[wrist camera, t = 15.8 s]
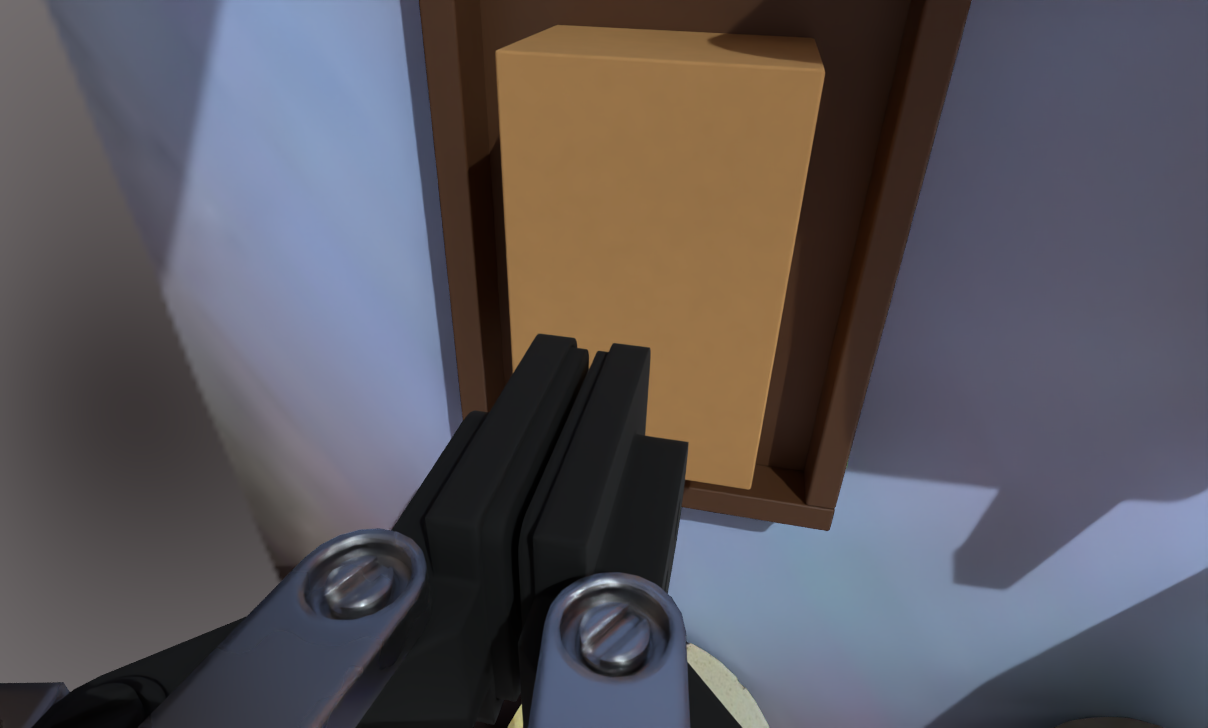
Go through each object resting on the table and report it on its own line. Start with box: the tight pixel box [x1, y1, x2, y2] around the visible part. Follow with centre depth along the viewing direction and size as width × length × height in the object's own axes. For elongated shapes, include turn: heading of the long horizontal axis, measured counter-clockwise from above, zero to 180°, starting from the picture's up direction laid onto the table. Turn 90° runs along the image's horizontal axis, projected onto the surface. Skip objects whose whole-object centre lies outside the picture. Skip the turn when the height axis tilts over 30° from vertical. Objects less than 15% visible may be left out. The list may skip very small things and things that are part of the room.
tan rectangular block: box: [495, 25, 825, 489], centre depth 16 cm, size 9×6×4 cm, turn 178°
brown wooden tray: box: [419, 0, 972, 531], centre depth 17 cm, size 16×11×2 cm
